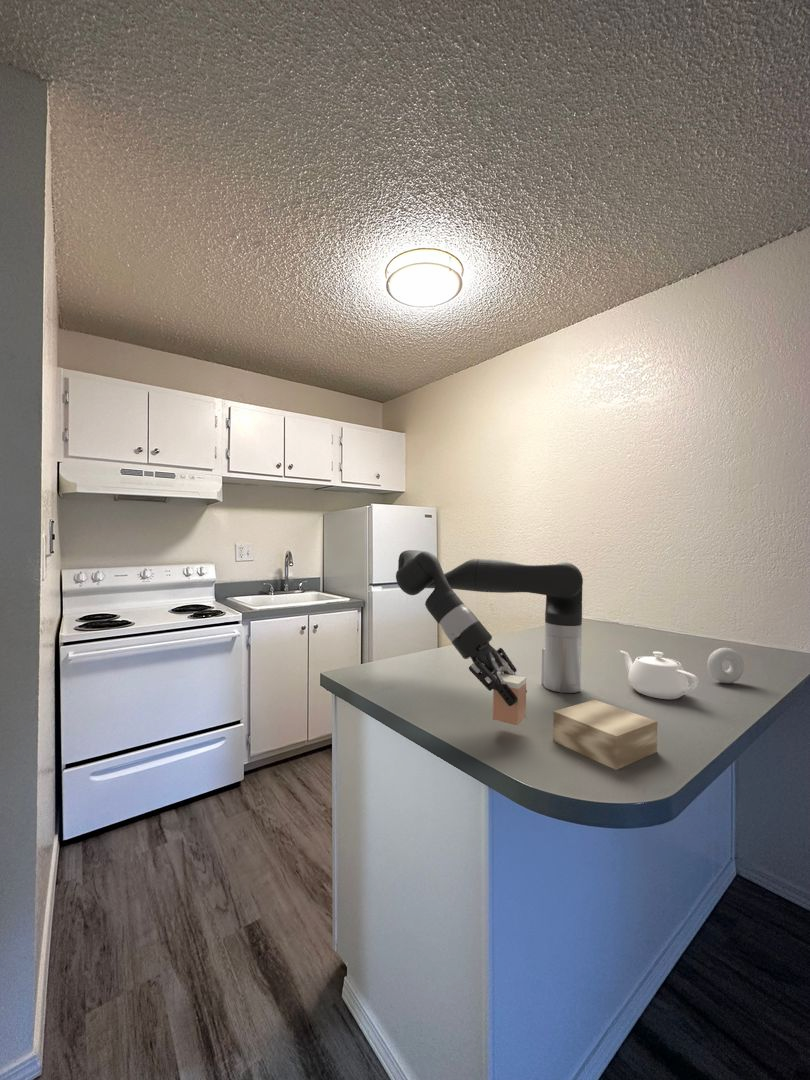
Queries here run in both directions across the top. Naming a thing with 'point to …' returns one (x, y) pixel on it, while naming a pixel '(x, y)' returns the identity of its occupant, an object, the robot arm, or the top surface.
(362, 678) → the top surface
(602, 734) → the pine box
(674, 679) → the teapot
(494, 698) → the cube
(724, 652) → the donut
